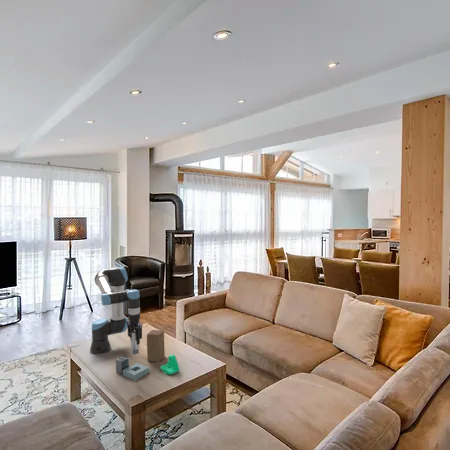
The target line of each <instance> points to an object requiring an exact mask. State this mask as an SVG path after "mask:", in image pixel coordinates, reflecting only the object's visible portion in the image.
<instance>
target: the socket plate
mask: <svg viewBox="0 0 450 450" xmlns="http://www.w3.org/2000/svg"><path fill="white" fill-rule="evenodd" d="M149 367H150V366H146V365H143V364H141V363H139V362H135V363H134V364H132V365H129V367H128V368H126V369H124V370H123V374H122V376H124V377H126V378H129V379H131V380H134V381H136V380H138V379H140V378H141V377H143V375H144V376H145V375H147V374H149V373H150V368H149Z"/></svg>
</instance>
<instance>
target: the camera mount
mask: <svg viewBox="0 0 450 450" xmlns="http://www.w3.org/2000/svg"><path fill="white" fill-rule="evenodd" d="M167 359H168V360H167V363H165V364H162V365H160V370H161V371H162V373H164V374H166V375H173V374H175V373H177V372H180V366H179V363H178V360H177V357H176V355H175V354H171V355H169V356H168V357H167Z"/></svg>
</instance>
